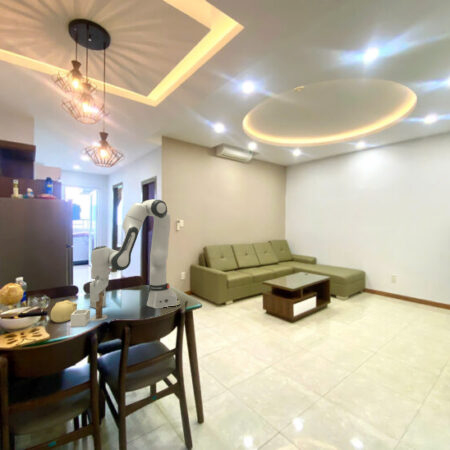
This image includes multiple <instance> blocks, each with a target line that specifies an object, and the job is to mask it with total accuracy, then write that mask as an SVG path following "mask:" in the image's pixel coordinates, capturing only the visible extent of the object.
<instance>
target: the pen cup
mask: <svg viewBox="0 0 450 450" xmlns="http://www.w3.org/2000/svg"><path fill="white" fill-rule="evenodd" d="M90 318H91V309H77V310H76V311H74V312H73V313H72V314H71V320H70V328H75V327H76V328H79V327H86V326H87V325H88V324H89V322H91V320H90Z"/></svg>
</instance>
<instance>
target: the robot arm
mask: <svg viewBox="0 0 450 450" xmlns="http://www.w3.org/2000/svg"><path fill="white" fill-rule="evenodd" d="M146 217H153V221H154V222H153V227H152V228H153V230H152V235H151V236H152V237H151V245H150V253H149V283H148V298H147V302H146V306H147V307H149V308H153V309H156V310H157V309H158V310H159V309H164V308H163V307H167V308H169V307H168V306H174V305H175V304H177V302H178V301H177V299H178V296H177V293H176V292H175V291H173V290H172V289H171V288H170V287H171V286H170V283H167V261H168V255H169V241H170V240H169V238H170V232H171V231H170V230H171V215H170V213H168V206H167V203H166V202H165V201H164V200H162V199H153V198H152V199H145V200H143V201H142V202H134V203H133V204H131V207H129V210H128V211H127V213H126V215H125V217H124V219H123V222H122V229H123V231H124V239H123V241H122V244H121V247H120V249H119V250H116V249H112V248H111V247H108V246H107V245H101V246H100V245H99V246H97V247H94V248H93V249H92V252H91V258H90V259H91V260H90V261H91V262H90V263H91V272H90V273H91V276H90V277H91V279H92V281H91V282H90V283H91V295H94V296H95V301H96V302H97V301H99V300H100V297H99V293H101V292H102V291H103V296H104V295H105V292H106V288H107V287H108V286H109V280H110V274H111V271H110V270H109V268H111V267H113V269H114V270H115V271H124V270H126V269H128V268H129V267H130V264H131V261H132V259H131V258H132V252H133V249H134V246H135V245H136V241H137V239H138V235H139V233H140V231H141V228H142V226H143V225H144V221H145V219H146Z"/></svg>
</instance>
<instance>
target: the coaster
mask: <svg viewBox="0 0 450 450" xmlns="http://www.w3.org/2000/svg"><path fill="white" fill-rule="evenodd" d="M106 319H108V315H107V314H102V318H100V319H96V315H93V316H90V321H93V322H99V321H103V320H106Z"/></svg>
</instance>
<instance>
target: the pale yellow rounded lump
mask: <svg viewBox="0 0 450 450" xmlns="http://www.w3.org/2000/svg"><path fill="white" fill-rule="evenodd" d="M54 304H55V305H54V306H53V307H52V309H51V311H50V319H51V320H52V322H54V323H57V324H58V323H65V322H68V321H71V314H72V313H73V312H74V311H76V310H78V303H77V302H74V301H70V300H69V299H66V300H65V299H64V300H63V301H58V302H56V303H54Z"/></svg>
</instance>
